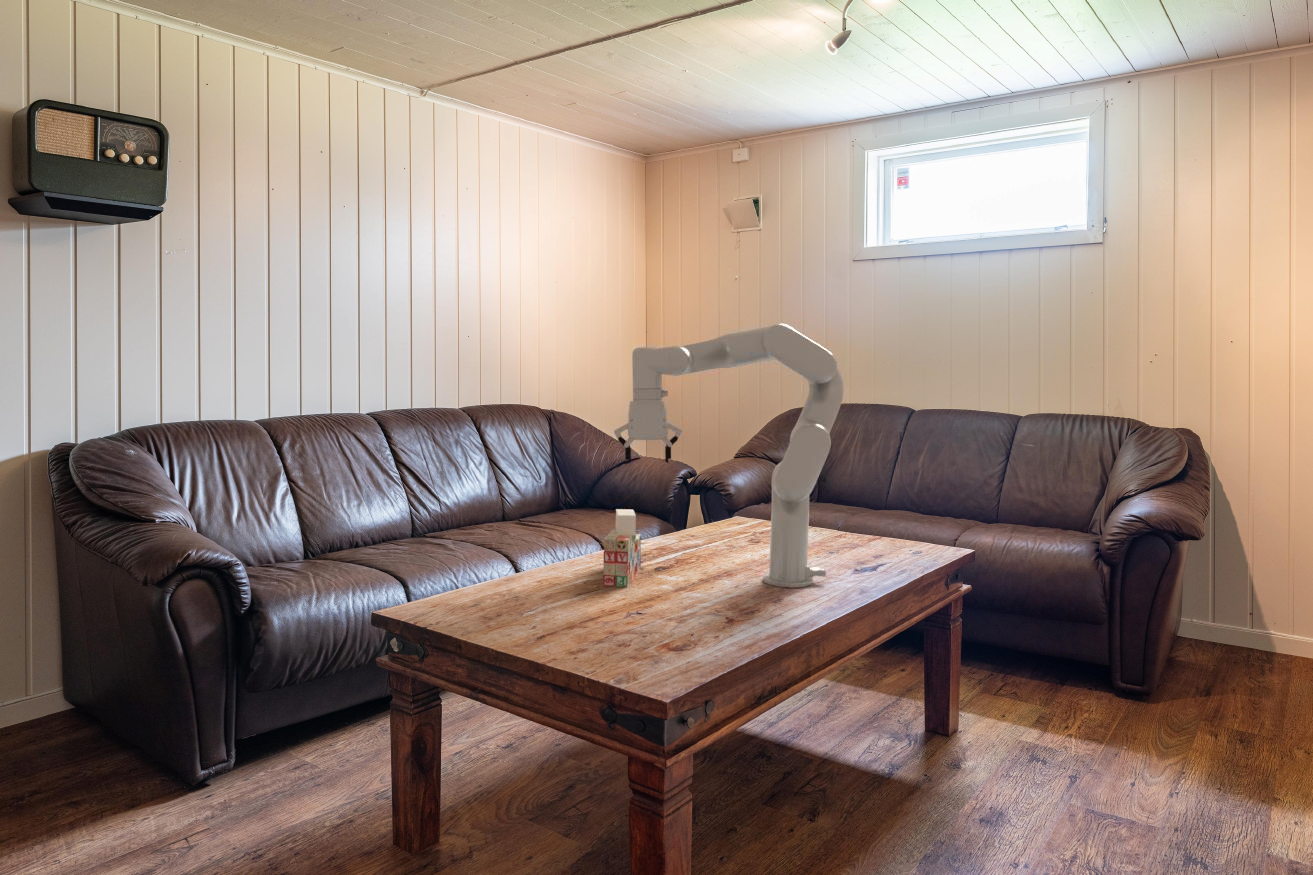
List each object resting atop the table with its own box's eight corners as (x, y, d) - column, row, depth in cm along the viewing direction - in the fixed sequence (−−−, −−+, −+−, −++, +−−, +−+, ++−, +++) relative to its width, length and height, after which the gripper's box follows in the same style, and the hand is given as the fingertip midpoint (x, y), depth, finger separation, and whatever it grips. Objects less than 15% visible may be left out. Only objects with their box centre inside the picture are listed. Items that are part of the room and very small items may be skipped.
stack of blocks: (618, 566, 237) (619, 522, 236) (641, 567, 236) (641, 523, 235) (602, 586, 216) (603, 537, 215) (627, 588, 215) (628, 538, 214)
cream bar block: (632, 528, 228) (633, 509, 228) (635, 535, 219) (635, 515, 219) (615, 528, 228) (615, 509, 227) (617, 535, 219) (617, 515, 218)
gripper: (680, 394, 227) (681, 460, 228) (613, 395, 226) (614, 461, 228) (682, 396, 219) (682, 463, 221) (613, 396, 219) (614, 464, 220)
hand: (648, 462), depth 224 cm, fingers open, 9 cm apart
